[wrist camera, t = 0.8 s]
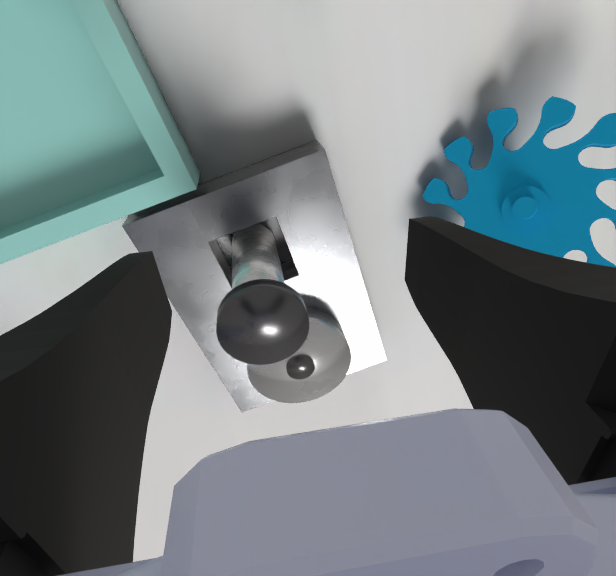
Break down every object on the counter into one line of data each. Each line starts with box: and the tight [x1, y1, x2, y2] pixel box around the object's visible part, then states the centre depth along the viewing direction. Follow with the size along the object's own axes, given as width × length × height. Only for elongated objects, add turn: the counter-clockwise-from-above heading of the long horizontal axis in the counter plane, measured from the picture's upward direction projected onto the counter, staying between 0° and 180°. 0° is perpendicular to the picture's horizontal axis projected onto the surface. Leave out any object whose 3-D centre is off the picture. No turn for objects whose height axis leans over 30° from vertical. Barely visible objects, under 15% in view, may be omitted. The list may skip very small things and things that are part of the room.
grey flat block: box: [122, 140, 386, 412], centre depth 22 cm, size 10×14×4 cm
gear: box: [423, 96, 616, 267], centre depth 22 cm, size 11×6×10 cm
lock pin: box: [216, 223, 309, 365], centre depth 19 cm, size 4×4×8 cm
